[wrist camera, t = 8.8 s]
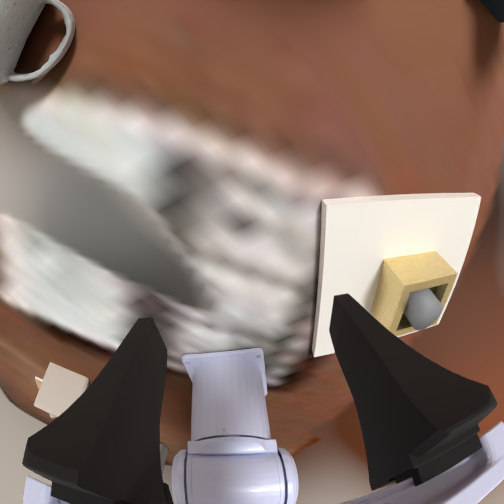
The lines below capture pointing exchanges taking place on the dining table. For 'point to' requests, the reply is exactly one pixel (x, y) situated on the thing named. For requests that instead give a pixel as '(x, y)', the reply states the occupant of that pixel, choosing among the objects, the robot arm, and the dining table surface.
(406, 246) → the post stand
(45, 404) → the architectural model
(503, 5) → the watch
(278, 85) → the dining table surface
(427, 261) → the wooden square ring
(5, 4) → the ceramic mug
